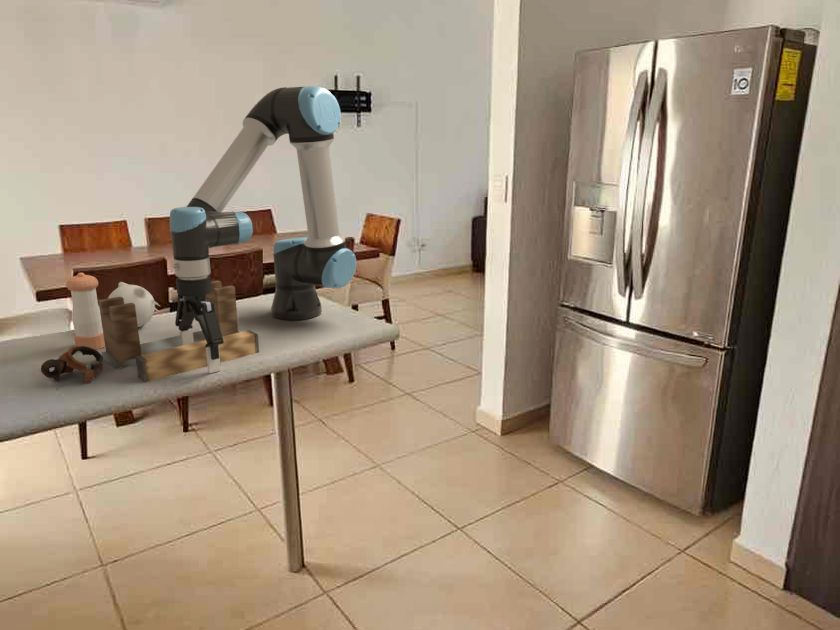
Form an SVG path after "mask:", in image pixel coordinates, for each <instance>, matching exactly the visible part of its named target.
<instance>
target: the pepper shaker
mask: <svg viewBox="0 0 840 630" xmlns="http://www.w3.org/2000/svg"><path fill="white" fill-rule="evenodd" d="M65 286H66V288H67V289H68V291H70V293H71V301H72V322H73V323H72V324H73V329H74V335H73V338H74V339H73V340H74V344H75V345H74V347H75V346H86V347H90V348H92V349H95V350H96V351H97V350H99V349H102V348H105V342H104V335H103V328H102V322H101V315H100V308H99V302H98V295H97V290H96V289H97V288H98V286H99V280H98V279H97V278H96V277H95V276H92V275H90V274H85V273H84V272H78V273H77V275H74V276H72V277H70V278H68V279H67V281H66V283H65Z"/></svg>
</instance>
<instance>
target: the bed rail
mask: <svg viewBox="0 0 840 630" xmlns="http://www.w3.org/2000/svg"><path fill="white" fill-rule="evenodd" d="M238 332H239V331H238ZM222 337H223V341H224V343H223V344H219V355H220V364H221V363H224V362H229V361H231V360H235V359H240V358H243V357H247V356H251V355H254V354H259V353H260V347H259V346H260V345H259V333H257V332H255V331H252V330H251V329H249V330H243V331H240V332H239V333H235V334H230V335H226V336H222ZM206 344H207V342H206V340H204V341H200V342H196V343H191V344H187V345H183V346H178V347H174V348H170V349H165V350H161V351H157V352H152V353H148V354H144V355H139V356H135V357H136V370H137V372H136V373H137V378H139V379H140V380H141V381H142V382H144V383H148V382H153V381H155V380H160V379H163V378H167V377H172V376H176V375H178V374H182V373H186V372H190V371H195V370H197V369H198V370H199V369H203V368H205V367H206V368H207V367H208V365H207V354H206V347H205V345H206Z"/></svg>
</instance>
